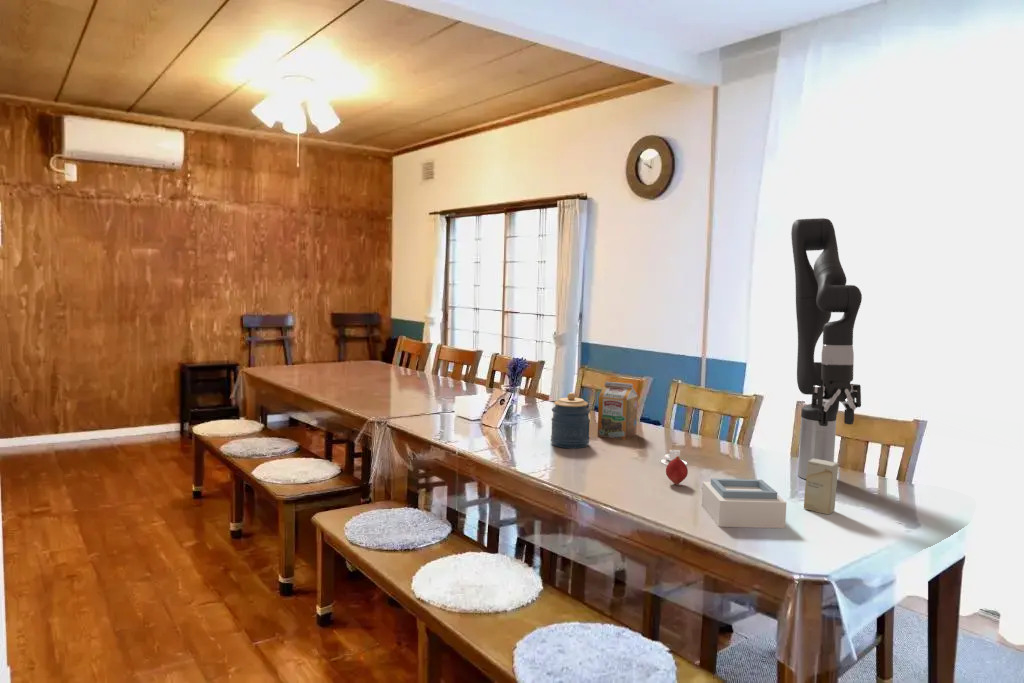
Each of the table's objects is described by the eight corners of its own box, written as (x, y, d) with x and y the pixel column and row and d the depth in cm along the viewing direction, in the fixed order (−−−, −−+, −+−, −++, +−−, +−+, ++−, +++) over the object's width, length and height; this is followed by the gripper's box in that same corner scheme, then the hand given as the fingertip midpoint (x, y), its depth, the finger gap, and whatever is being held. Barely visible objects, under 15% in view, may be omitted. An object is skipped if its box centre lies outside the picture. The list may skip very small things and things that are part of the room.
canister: (594, 448, 229) (596, 395, 228) (557, 449, 226) (558, 396, 225) (581, 439, 242) (583, 389, 240) (546, 440, 239) (547, 390, 237)
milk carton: (636, 434, 252) (638, 382, 250) (625, 439, 243) (627, 386, 241) (609, 430, 257) (610, 379, 255) (597, 435, 248) (599, 383, 246)
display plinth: (701, 505, 173) (703, 475, 172) (762, 506, 172) (763, 477, 172) (718, 526, 158) (720, 494, 157) (785, 528, 157) (786, 495, 157)
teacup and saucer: (663, 458, 219) (664, 446, 219) (689, 461, 216) (690, 448, 216) (658, 465, 211) (659, 452, 211) (685, 468, 208) (685, 455, 208)
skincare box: (803, 509, 171) (805, 460, 170) (809, 505, 174) (812, 457, 173) (829, 515, 167) (832, 465, 166) (836, 511, 170) (839, 462, 169)
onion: (661, 482, 192) (662, 454, 191) (678, 480, 194) (679, 452, 193) (673, 488, 186) (675, 459, 186) (691, 486, 188) (692, 457, 188)
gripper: (846, 361, 185) (845, 421, 186) (804, 362, 180) (803, 424, 181) (870, 362, 178) (868, 425, 179) (827, 364, 173) (825, 428, 174)
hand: (836, 425), depth 180 cm, fingers open, 8 cm apart
